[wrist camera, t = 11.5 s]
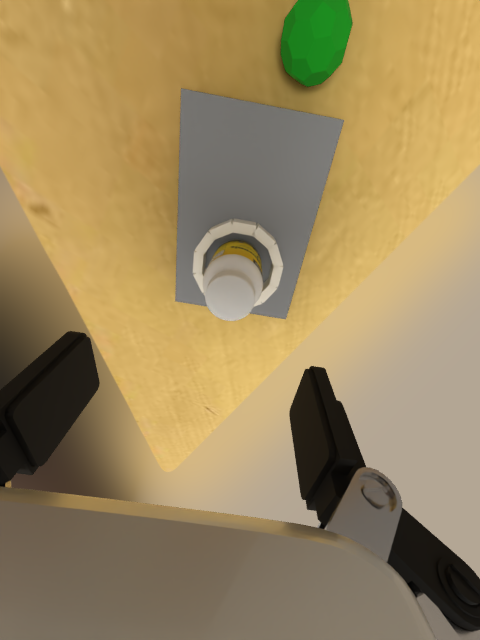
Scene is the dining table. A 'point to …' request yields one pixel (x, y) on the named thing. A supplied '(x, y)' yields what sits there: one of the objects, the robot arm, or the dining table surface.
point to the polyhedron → (315, 39)
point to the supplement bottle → (233, 280)
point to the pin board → (249, 189)
